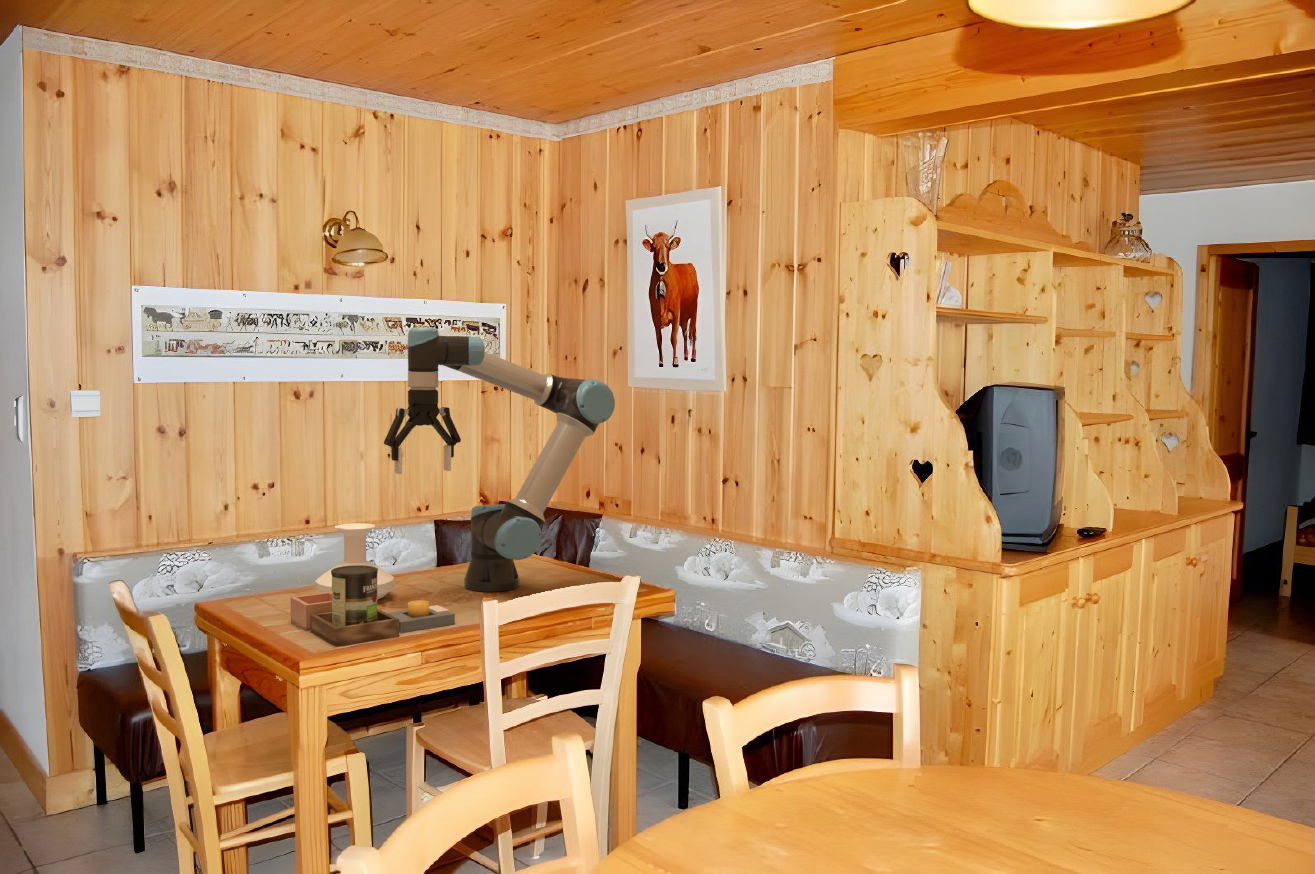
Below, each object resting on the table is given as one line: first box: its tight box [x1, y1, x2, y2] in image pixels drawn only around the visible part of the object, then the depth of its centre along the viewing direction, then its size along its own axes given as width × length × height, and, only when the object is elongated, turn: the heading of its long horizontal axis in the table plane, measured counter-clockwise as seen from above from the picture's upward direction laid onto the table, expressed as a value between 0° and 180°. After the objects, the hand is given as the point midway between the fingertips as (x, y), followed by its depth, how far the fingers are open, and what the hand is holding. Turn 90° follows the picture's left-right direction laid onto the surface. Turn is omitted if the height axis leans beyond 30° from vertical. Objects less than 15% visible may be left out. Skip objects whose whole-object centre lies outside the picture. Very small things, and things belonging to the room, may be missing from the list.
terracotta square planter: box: [290, 592, 332, 632], centre depth 251 cm, size 10×10×6 cm
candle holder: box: [314, 522, 395, 601], centre depth 276 cm, size 20×20×19 cm
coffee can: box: [331, 565, 378, 627], centre depth 241 cm, size 10×10×14 cm
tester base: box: [386, 604, 456, 634], centre depth 252 cm, size 14×10×3 cm
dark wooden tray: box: [310, 608, 400, 647], centre depth 242 cm, size 15×15×4 cm
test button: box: [407, 599, 430, 618], centre depth 252 cm, size 5×5×4 cm
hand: (423, 472), depth 267 cm, fingers open, 13 cm apart
